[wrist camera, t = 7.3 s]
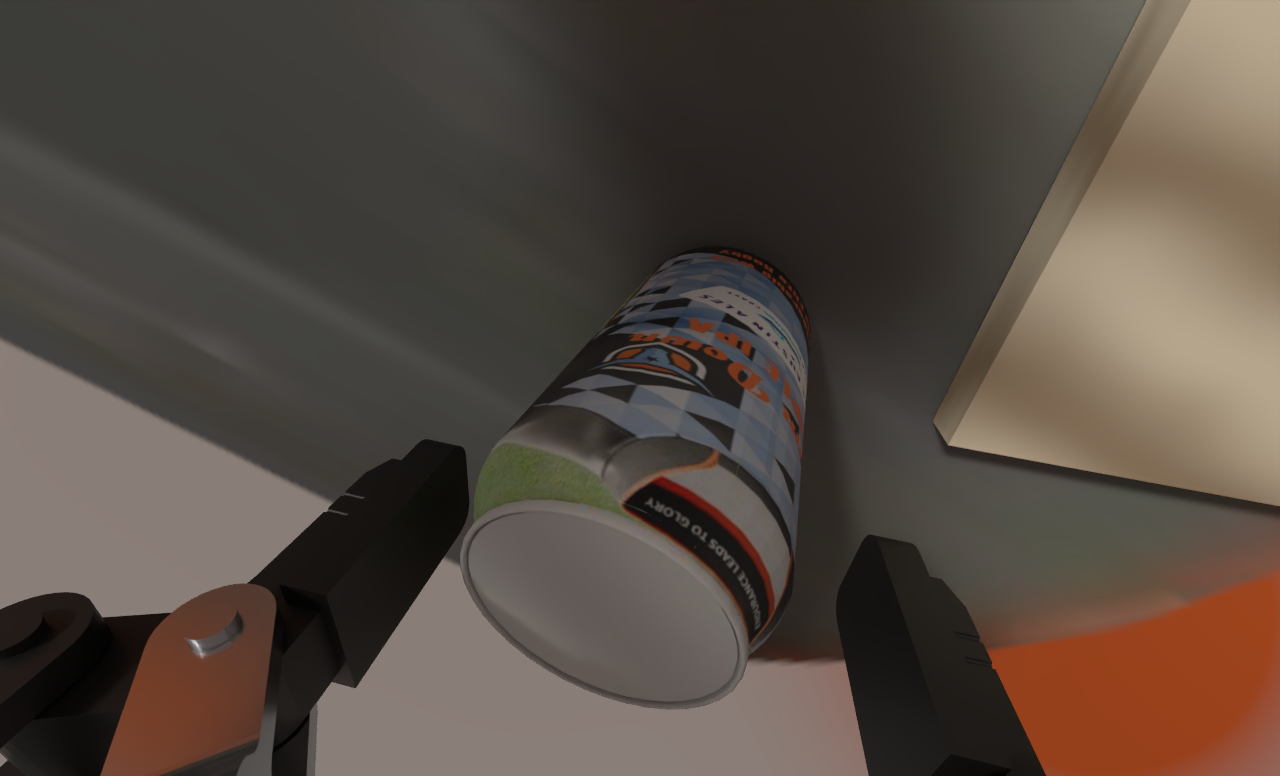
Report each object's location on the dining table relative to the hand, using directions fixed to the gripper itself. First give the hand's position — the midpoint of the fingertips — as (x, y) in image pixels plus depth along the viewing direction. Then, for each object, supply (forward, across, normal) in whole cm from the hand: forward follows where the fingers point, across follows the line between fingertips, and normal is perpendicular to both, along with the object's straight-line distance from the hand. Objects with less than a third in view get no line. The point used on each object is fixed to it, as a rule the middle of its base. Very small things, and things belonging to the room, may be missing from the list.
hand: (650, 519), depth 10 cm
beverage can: (+10, 0, 0) cm, 10 cm away
